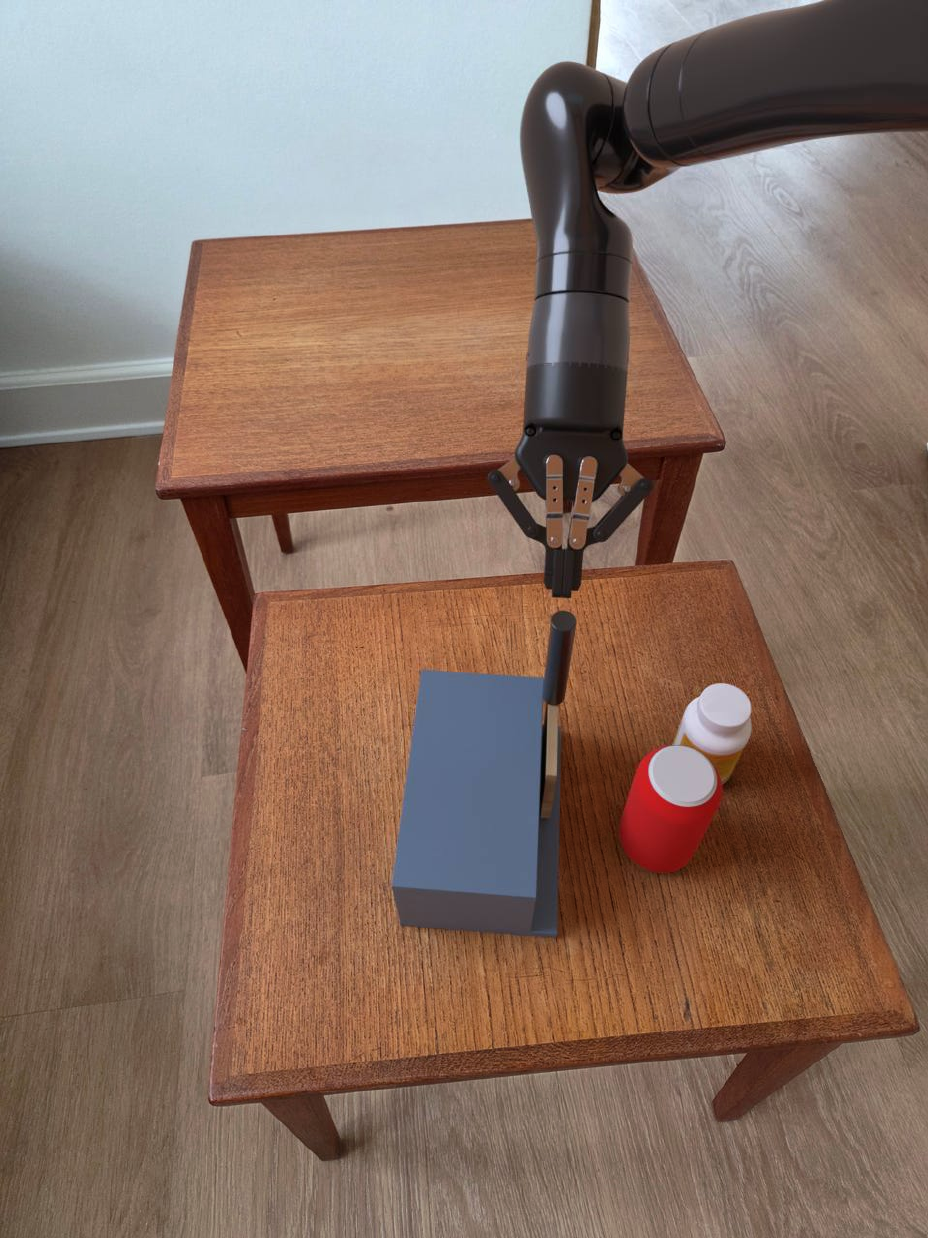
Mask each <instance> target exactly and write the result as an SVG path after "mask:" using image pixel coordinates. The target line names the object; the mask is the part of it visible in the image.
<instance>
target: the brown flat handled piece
mask: <svg viewBox="0 0 928 1238" xmlns="http://www.w3.org/2000/svg"><path fill="white" fill-rule="evenodd" d="M577 621H578V620H577V618H576V616H575V615H574V614H573V613H572V612H571V611H568V610H558V611H556V612H555V613H553V614H552V615H551V617H550V623H549V631H548V632H549V633H548V641H547V649H546V659H545V669H544V676H543V678H544V684H543V693H542V697H543V702H545V709H544V716H543V717H544V718H543V724H542V725H543V747H542V778H541V808H540V818H550V815H551V809H552V803H553V796H554V790H555V784H556V778H557V749H558V726H559V705H562V704H563V702H564V701H565V699H566V694H567V689H568V688H567V687H568V680H569V675H570V667H571V661H572V655H573V648H574V641H575V635H576V630H577Z"/></svg>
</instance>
